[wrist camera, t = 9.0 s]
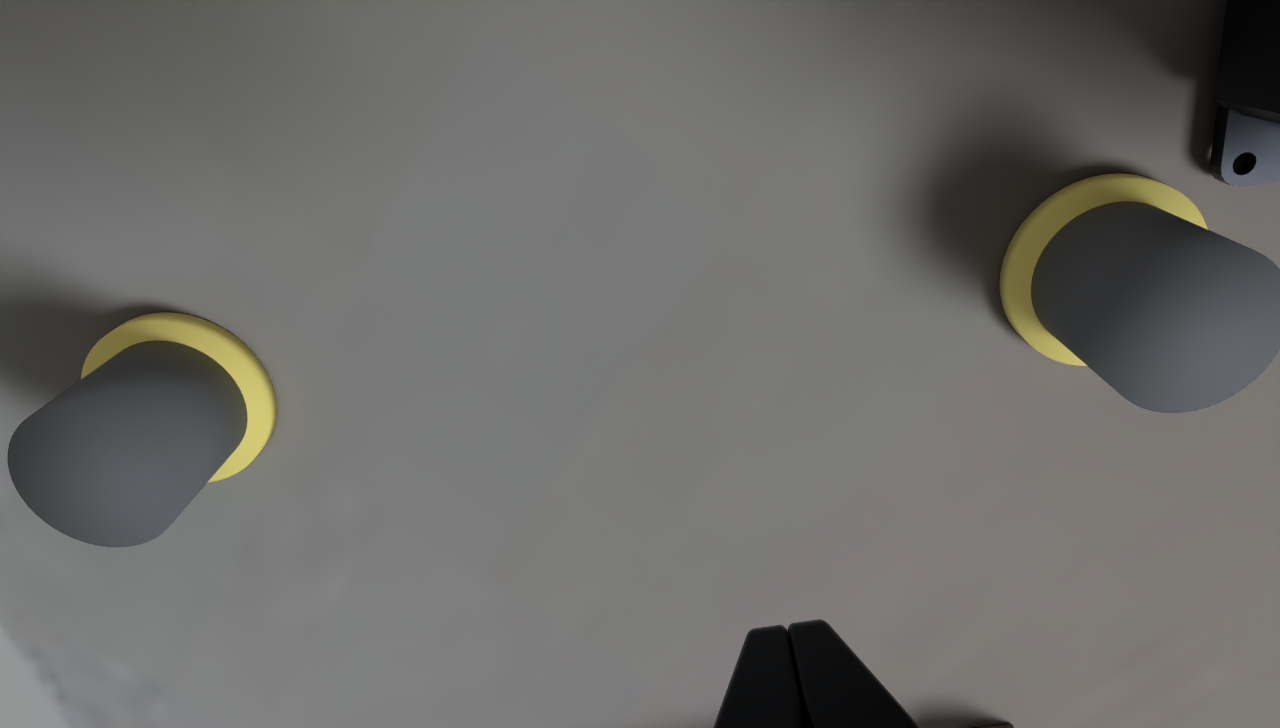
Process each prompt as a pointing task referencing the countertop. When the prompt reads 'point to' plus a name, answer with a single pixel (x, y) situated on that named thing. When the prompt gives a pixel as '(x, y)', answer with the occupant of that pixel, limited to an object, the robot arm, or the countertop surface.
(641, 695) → the countertop surface
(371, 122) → the countertop surface
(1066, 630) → the countertop surface
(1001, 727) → the bay
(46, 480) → the bollards
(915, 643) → the countertop surface
